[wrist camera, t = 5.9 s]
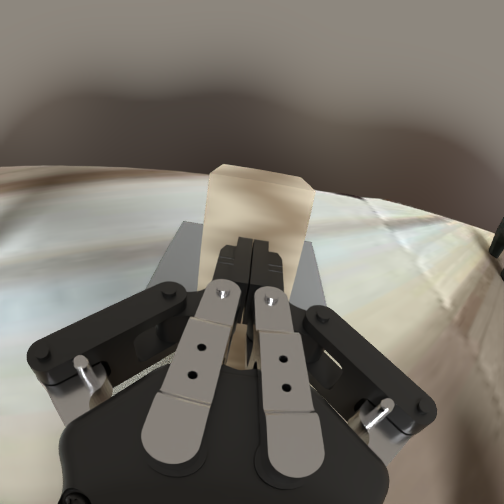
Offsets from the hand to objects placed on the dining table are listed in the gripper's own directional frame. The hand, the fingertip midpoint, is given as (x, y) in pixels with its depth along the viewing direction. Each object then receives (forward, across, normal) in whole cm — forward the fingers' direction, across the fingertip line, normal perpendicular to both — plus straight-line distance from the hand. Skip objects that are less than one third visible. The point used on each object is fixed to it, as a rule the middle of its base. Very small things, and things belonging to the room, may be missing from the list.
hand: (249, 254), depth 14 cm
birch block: (+1, 0, +11) cm, 11 cm away
